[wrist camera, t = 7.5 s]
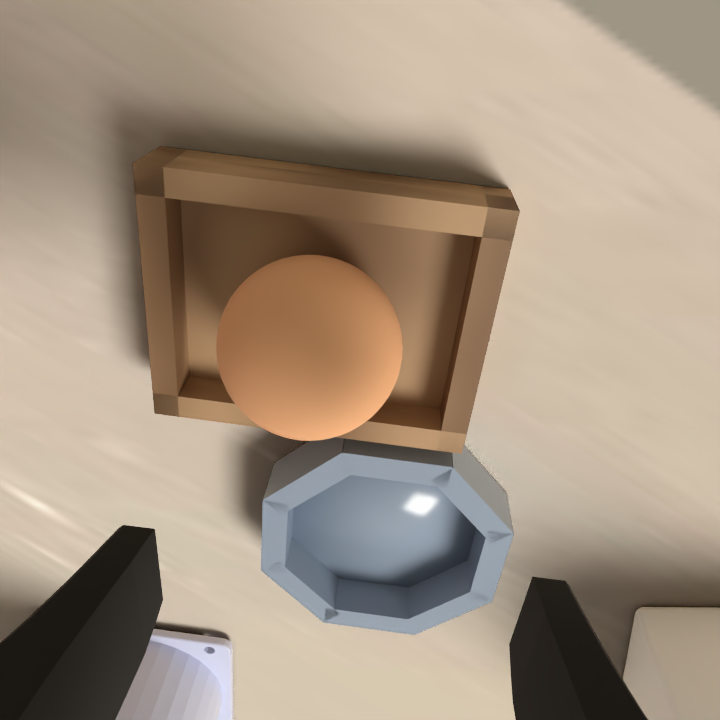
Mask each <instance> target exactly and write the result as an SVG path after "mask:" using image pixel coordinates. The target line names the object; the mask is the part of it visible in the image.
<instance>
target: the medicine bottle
mask: <svg viewBox="0 0 720 720" xmlns="http://www.w3.org/2000/svg"><path fill="white" fill-rule="evenodd" d="M623 681H624V682H625V684H626V686H627V687H628V689H629V690H630V692H631V694H632V695H633V697H634V698H635V700H636V702H637V703H638V705H639V706H640V708H641V710H642V711H643V713H644V714H645V716H646V717H647V719H648V720H720V607H640V608H639V609H638V610H637V611H636V612H635V617H634V622H633V627H632V633H631V638H630V643H629V649H628V654H627V659H626V665H625V670H624V675H623Z"/></svg>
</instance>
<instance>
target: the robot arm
mask: <svg viewBox="0 0 720 720" xmlns="http://www.w3.org/2000/svg"><path fill="white" fill-rule="evenodd" d="M162 601H163V596H162V587H161V579H160V570H159V561H158V553H157V544H156V536H155V529H150V528H142V527H134V526H127V525H123V526H121V527H120V528H119V529H117V531H116V532H115V533H114V534H113V535H112V536H111V537H110V538H109V539H108V540H107V541H106V542H105V543H104V544H103V545H102V546H101V547H100V548H99V549H98V550H97V551H96V552H95V553H94V554H93V555H92V556H91V557H90V558H89V559H88V560H87V561H86V563H85V564H84V565H83V566H82V567H81V568H80V569H79V570H78V571H77V572H76V573H75V574H74V575H73V576H72V577H71V578H70V579H69V580H68V581H67V582H65V583H64V584H63V585H62V586H61V587H60V588H59V589H58V590H57V591H56V592H55V593H54V594H53V595H52V596H51V597H50V598H49V599H48V600H47V601H46V602H45V603H44V604H42V605H41V606H40V607H39V608H38V609H37V610H36V611H35V612H34V613H33V614H32V615H31V616H30V617H29V618H28V619H27V620H26V621H24V622H23V623H22V624H21V625H20V626H19V627H18V628H17V629H16V630H14V631H13V632H12V633H11V634H10V635H9V636H8V637H6V638H5V639H4V640H3V641H2V642H1V643H0V720H233V646H232V643H231V642H230V641H229V640H227V639H224V638H218V637H211V636H204V635H196V634H189V633H182V632H175V631H168V630H160V629H154V626H155V623H156V620H157V617H158V614H159V610H160V607H161V604H162ZM509 645H510V664H511V681H512V695H513V705H514V711H515V717H516V720H648V719H647V717H646V716H645V714H644V713H643V711H642V710H641V708H640V706H639V705H638V703H637V702H636V700H635V698H634V697H633V695H632V694H631V692H630V690H629V689H628V687H627V686H626V684H625V682H624V681H623V679H622V678H621V676H620V674H619V673H618V671H617V670H616V668H615V666H614V665H613V663H612V661H611V659H610V658H609V656H608V654H607V653H606V651H605V649H604V648H603V646H602V644H601V642H600V641H599V639H598V637H597V635H596V634H595V632H594V630H593V628H592V627H591V625H590V623H589V621H588V619H587V618H586V616H585V614H584V612H583V610H582V609H581V607H580V605H579V603H578V601H577V599H576V597H575V596H574V594H573V592H572V590H571V588H570V586H569V585H568V584H567V582H566V581H562V580H554V579H546V578H538V577H532V580H531V583H530V586H529V589H528V592H527V595H526V598H525V601H524V603H523V606H522V609H521V612H520V615H519V618H518V621H517V624H516V627H515V630H514V633H513V635H512V638H511V641H510V644H509Z"/></svg>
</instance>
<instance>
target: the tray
mask: <svg viewBox="0 0 720 720" xmlns="http://www.w3.org/2000/svg"><path fill="white" fill-rule="evenodd" d="M132 164H133V176H134V187H135V198H136V209H137V221H138V232H139V243H140V254H141V266H142V277H143V288H144V299H145V311H146V322H147V333H148V344H149V355H150V367H151V378H152V389H153V400H154V412H155V414H163V415H170V416H178V417H186V418H193V419H201V420H208V421H216V422H224V423H231V424H239V425H246V426H254V427H260V426H258V425H257V424H255V423H254V422H253V421H251V420H250V419H249V418H248V417H247V416H246V415H245V414H244V413H243V412H242V411H241V410H240V409H239V408H238V407H237V405H236V404H235V403H234V402H233V400H232V399H231V397H230V396H229V394H228V392H227V390H226V388H225V386H224V383H223V381H222V379H221V376H220V372H219V369H218V363H217V355H216V339H217V333H218V327H219V323H220V320H221V317H222V314H223V311H224V309H225V307H226V305H227V303H228V301H229V299H230V298H231V296H232V295H233V294H234V292H235V291H236V290H237V288H238V287H239V286H240V285H241V284H242V283H243V282H244V281H245V280H246V279H247V278H248V277H249V276H251V275H252V274H253V273H255V272H256V271H257V270H259V269H260V268H262V267H264V266H266V265H268V264H270V263H272V262H274V261H277V260H280V259H283V258H287V257H292V256H298V255H321V256H328V257H332V258H336V259H339V260H342V261H344V262H347V263H349V264H351V265H353V266H355V267H356V268H358V269H360V270H361V271H363V272H364V273H365V274H367V275H368V276H369V277H370V278H371V279H372V280H373V281H374V282H376V283H377V284H378V285H379V286H380V288H381V289H382V290H383V291H384V293H385V294H386V295H387V297H388V299H389V300H390V302H391V304H392V306H393V308H394V310H395V313H396V315H397V318H398V320H399V324H400V328H401V334H402V344H403V352H402V361H401V367H400V372H399V375H398V378H397V381H396V384H395V386H394V388H393V390H392V392H391V394H390V395H389V397H388V399H387V400H386V401H385V403H384V404H383V405H382V407H381V408H380V409H379V410H378V411H377V412H376V413H375V414H374V415H373V416H372V417H371V418H370V419H369V420H367V421H366V422H365V423H363V424H362V425H361V426H359V427H357V428H356V429H354V430H352V431H350V432H348V433H345V434H343V435H340V436H337V438H345V439H353V440H360V441H368V442H375V443H383V444H391V445H398V446H406V447H413V448H421V449H429V450H436V451H444V452H451V453H459V454H462V451H463V447H464V443H465V438H466V434H467V430H468V426H469V422H470V417H471V413H472V409H473V405H474V401H475V396H476V392H477V388H478V384H479V380H480V375H481V371H482V367H483V363H484V359H485V354H486V350H487V346H488V342H489V338H490V333H491V329H492V325H493V321H494V317H495V313H496V308H497V304H498V300H499V296H500V292H501V287H502V283H503V279H504V275H505V271H506V266H507V262H508V258H509V254H510V250H511V245H512V241H513V237H514V233H515V229H516V224H517V220H518V216H519V212H520V211H519V209H518V206H517V204H516V202H515V199H514V197H513V195H512V193H511V190H510V189H504V188H496V187H487V186H479V185H471V184H463V183H455V182H447V181H439V180H431V179H422V178H414V177H406V176H398V175H390V174H382V173H374V172H365V171H357V170H349V169H341V168H333V167H325V166H317V165H309V164H300V163H292V162H284V161H276V160H268V159H260V158H252V157H244V156H235V155H227V154H219V153H211V152H203V151H195V150H187V149H179V148H170V147H162V146H160V147H158V148H156V149H155V150H153V151H152V152H150V153H148V154H147V155H145V156H143V157H142V158H140V159H139V160H137V161H135V162H134V163H132Z"/></svg>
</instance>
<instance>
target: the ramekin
mask: <svg viewBox="0 0 720 720" xmlns="http://www.w3.org/2000/svg"><path fill="white" fill-rule="evenodd" d="M513 535H514V533H513V527H512V521H511V515H510V509H509V503H508V498H507V493H506V492H505V491H504V490H503V488H502V487H501V486H500V485H499V484H498V483H497V482H496V481H495V479H494V478H493V477H492V476H491V475H490V474H489V473H488V472H487V470H486V469H485V468H484V467H483V466H482V465H481V464H480V463H479V461H478V460H477V459H476V458H475V457H474V456H473V455H472V454H471V452H470V451H469V450H468V449H467V448H466V447H465V446H464V447H463V451H462V454H459V453H451V452H444V451H436V450H429V449H421V448H413V447H406V446H398V445H391V444H383V443H375V442H368V441H360V440H353V439H345V438H337V437H333V438H329V439H324V440H316V441H308V442H307V443H305V444H303V445H302V446H300V447H299V448H297V449H295V450H294V451H292V452H290V453H289V454H287V455H286V456H284V457H282V458H281V459H279V460H278V461H276V462H275V463H274V465H273V469H272V472H271V475H270V478H269V482H268V485H267V488H266V491H265V495H264V498H263V509H262V549H261V571H262V572H264V573H265V574H266V575H267V576H268V577H270V578H271V579H272V580H273V581H274V582H276V583H277V584H278V585H279V586H280V587H282V588H283V589H284V590H285V591H286V592H288V593H289V594H290V595H291V596H292V597H294V598H295V599H296V600H297V601H298V602H300V603H301V604H302V605H303V606H304V607H306V608H307V609H308V610H309V611H310V612H312V613H313V614H314V615H315V616H316V617H318V618H319V619H320V620H321V621H322V622H324V623H331V624H338V625H346V626H353V627H360V628H367V629H375V630H382V631H389V632H396V633H404V634H411V635H415V634H417V633H420V632H422V631H424V630H427V629H429V628H432V627H434V626H436V625H439V624H441V623H443V622H446V621H448V620H450V619H453V618H455V617H457V616H460V615H462V614H464V613H467V612H469V611H472V610H474V609H476V608H479V607H481V606H483V605H486V604H488V603H490V602H491V601H492V600H493V597H494V594H495V591H496V587H497V584H498V581H499V578H500V575H501V572H502V569H503V566H504V563H505V560H506V556H507V553H508V550H509V547H510V544H511V541H512V538H513Z"/></svg>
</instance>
